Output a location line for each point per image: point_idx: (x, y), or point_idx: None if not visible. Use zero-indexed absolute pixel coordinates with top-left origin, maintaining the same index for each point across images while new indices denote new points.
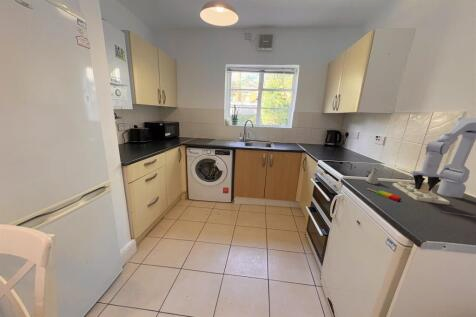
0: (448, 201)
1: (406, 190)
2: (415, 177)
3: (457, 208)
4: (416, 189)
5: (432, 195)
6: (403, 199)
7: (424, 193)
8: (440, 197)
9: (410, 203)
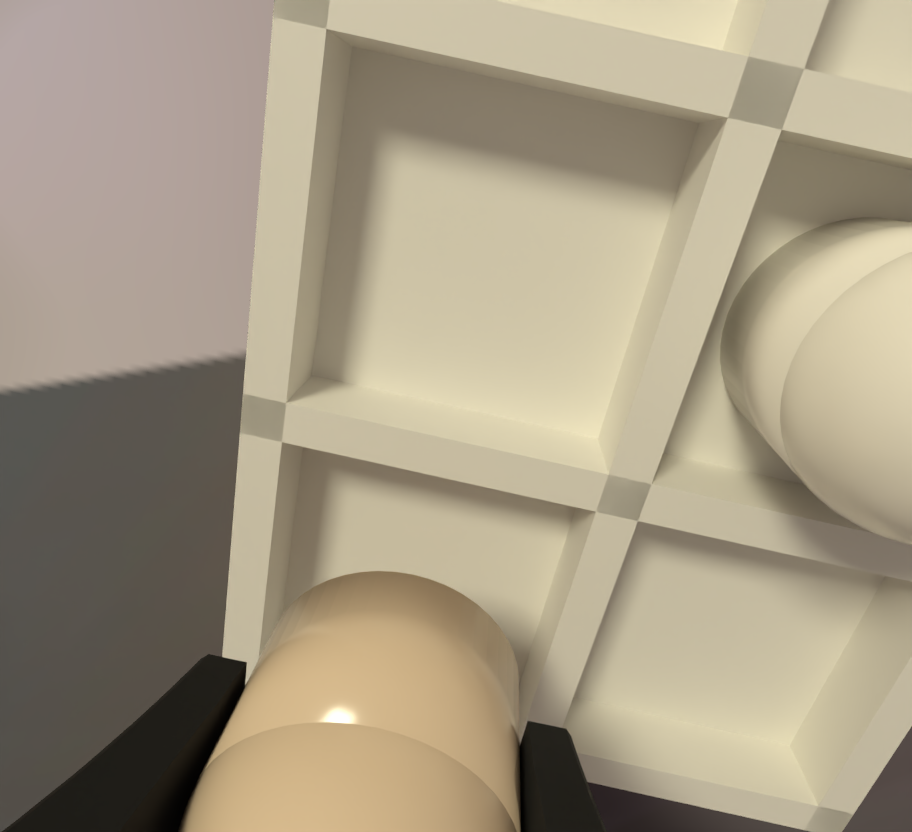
0: (811, 826)
1: (260, 329)
2: None
3: (852, 818)
4: (267, 643)
5: (835, 559)
6: (33, 593)
7: (756, 427)
8: (907, 669)
9: (61, 717)
